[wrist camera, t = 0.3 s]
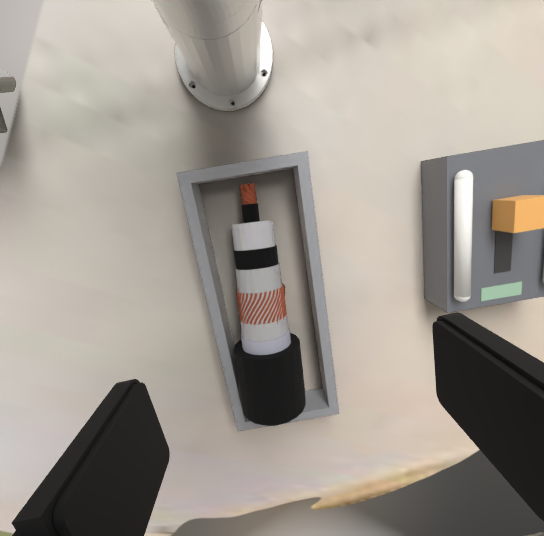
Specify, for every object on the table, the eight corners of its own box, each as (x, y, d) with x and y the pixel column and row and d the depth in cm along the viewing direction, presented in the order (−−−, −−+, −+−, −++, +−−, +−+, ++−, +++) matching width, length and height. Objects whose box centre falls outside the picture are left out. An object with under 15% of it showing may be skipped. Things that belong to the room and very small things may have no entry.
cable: (262, 188, 47) (297, 176, 38) (284, 378, 52) (319, 406, 43) (202, 191, 42) (226, 178, 33) (232, 400, 47) (260, 436, 38)
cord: (450, 171, 37) (461, 170, 35) (465, 169, 37) (477, 168, 35) (450, 299, 42) (459, 305, 40) (464, 297, 42) (473, 302, 40)
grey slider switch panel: (421, 161, 42) (447, 156, 37) (526, 143, 43) (570, 135, 37) (424, 298, 48) (447, 313, 42) (517, 282, 48) (554, 295, 42)
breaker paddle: (492, 200, 38) (515, 200, 35) (522, 195, 38) (548, 195, 35) (491, 229, 39) (513, 233, 36) (520, 224, 39) (545, 227, 36)
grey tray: (186, 175, 41) (176, 172, 37) (301, 155, 41) (307, 150, 37) (239, 409, 52) (237, 431, 47) (331, 393, 52) (339, 413, 47)
